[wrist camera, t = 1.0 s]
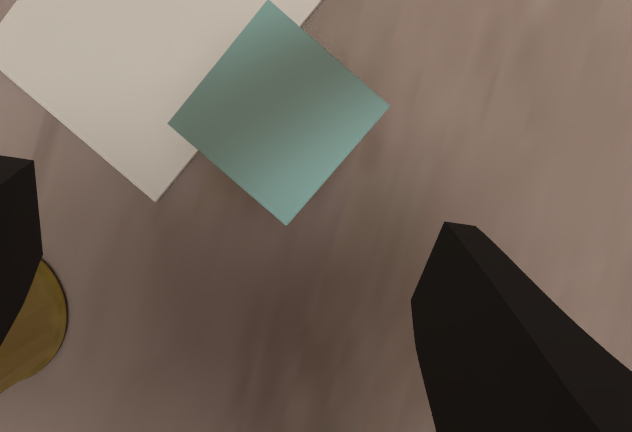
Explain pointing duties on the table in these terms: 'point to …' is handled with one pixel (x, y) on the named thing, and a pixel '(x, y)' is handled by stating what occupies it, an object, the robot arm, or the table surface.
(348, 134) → the block
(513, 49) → the table surface
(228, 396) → the table surface
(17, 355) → the vase
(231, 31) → the mat
